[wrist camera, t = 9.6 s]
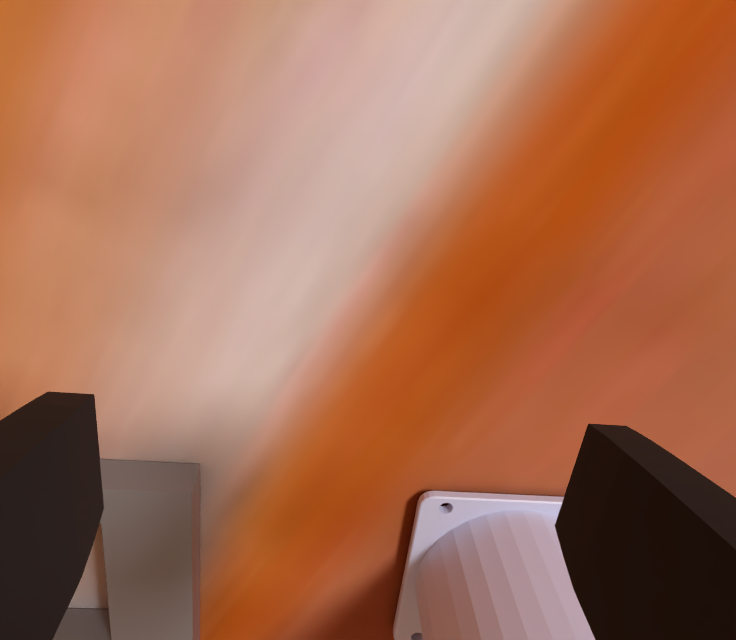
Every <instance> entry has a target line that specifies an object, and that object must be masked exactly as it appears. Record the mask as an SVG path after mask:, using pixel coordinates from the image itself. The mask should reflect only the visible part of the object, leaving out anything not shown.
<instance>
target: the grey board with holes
mask: <svg viewBox="0 0 736 640" xmlns="http://www.w3.org/2000/svg"><path fill="white" fill-rule="evenodd" d="M100 467H101V479H102V490H103V502H104V510H103V513H102V517H101V520H100V523H99V524H101V527H102V539H103V550H104V561H105V572H106V584H107V595H108V606H109V609H71V608H67V610H66V612H65V614H64V616H63V618H62V621H61V623H60V625H59V627H58V629H57V631H56V633H55V636H54V638H53V640H200V464H189V463H169V462H149V461H128V460H108V459H100Z"/></svg>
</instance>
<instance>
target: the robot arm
mask: <svg viewBox="0 0 736 640" xmlns="http://www.w3.org/2000/svg"><path fill="white" fill-rule="evenodd" d="M443 503H450V504H448V505H447V506H440V505H442V504H443ZM103 510H104V502H103V490H102V479H101V467H100V456H99V444H98V433H97V421H96V410H95V398H94V394H78V393H61V392H47V393H45V394H43V395H41V396H40V397H38V398H36V399H34V400H33V401H31V402H29V403H28V404H26V405H24V406H23V407H21V408H20V409H18V410H16V411H15V412H13V413H12V414H10V415H8V416H7V417H5V418H4V419H2V420H0V640H53V638H54V636H55V633H56V631H57V629H58V627H59V625H60V623H61V621H62V618H63V616H64V614H65V612H66V610H67V608H68V606H69V603H70V601H71V599H72V597H73V595H74V593H75V590H76V588H77V586H78V584H79V582H80V579H81V577H82V574H83V572H84V569H85V566H86V563H87V560H88V557H89V554H90V551H91V548H92V545H93V542H94V539H95V536H96V532H97V529H98V526H99V523H100V520H101V517H102V513H103ZM393 637H394V640H736V498H735V497H734V496H732V495H731V494H730V493H728V492H727V491H725V490H724V489H722V488H721V487H719V486H718V485H716V484H715V483H713V482H712V481H711V480H709V479H708V478H706V477H705V476H703V475H702V474H700V473H699V472H697V471H696V470H695V469H693V468H692V467H690V466H689V465H687V464H686V463H684V462H683V461H681V460H680V459H678V458H677V457H675V456H674V455H672V454H671V453H669V452H668V451H666V450H665V449H663V448H662V447H660V446H659V445H657V444H656V443H654V442H653V441H651V440H650V439H648V438H646V437H645V436H643V435H641V434H640V433H638V432H636V431H634V430H633V429H631V428H629V427H627V426H618V425H601V424H588V426H587V429H586V432H585V435H584V438H583V441H582V445H581V448H580V451H579V454H578V457H577V460H576V463H575V466H574V469H573V472H572V475H571V478H570V481H569V484H568V487H567V490H566V493H565V496H564V497H558V496H536V495H515V494H493V493H471V492H450V491H428V492H425V493H423V494H422V495H421V496H420V497H419V500H418V503H417V508H416V513H415V519H414V524H413V529H412V534H411V539H410V544H409V549H408V554H407V559H406V564H405V569H404V574H403V579H402V585H401V590H400V595H399V600H398V605H397V610H396V615H395V620H394V625H393Z"/></svg>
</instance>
